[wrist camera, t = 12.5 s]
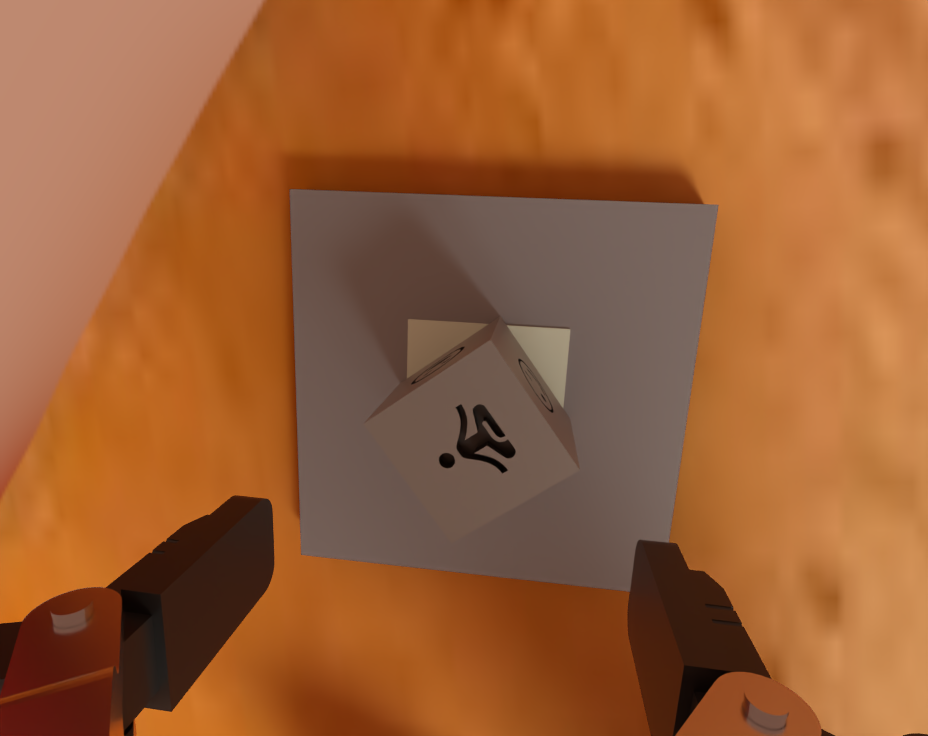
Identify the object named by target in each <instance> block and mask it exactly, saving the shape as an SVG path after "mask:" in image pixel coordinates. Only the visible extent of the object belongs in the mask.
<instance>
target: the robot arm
mask: <svg viewBox="0 0 928 736" xmlns="http://www.w3.org/2000/svg"><path fill="white" fill-rule="evenodd" d="M273 570H274V538H273V512H272V505H271V502H270V501H269V500H268V499H264V498H255V497H246V496H232V497H231V498H230V499H228V500H227V501H226V502H225V503H224V504H222V505H221V506H220V507H219V508H218V509H216V510H215V511H214V512H213V513H212V514H210V515H205V516H203V517H201V518H199V519H197V520H194V521H192V522H190V523H188V524H186V525H184V526H182V527H181V528H180V529H179V530H177V531H176V532H175V533H174V534H172V535H171V536H170V537H169V538H167V541H166V542H162V543H161V544H160V545H159V546H157V547H156V548H155V549H154V550H153V552H152V553H149V554H147V555H146V556H145V557H144V558H142V559H141V560H140V561H139V562H137V563H136V564H135V565H133V566H132V567H131V568H130V569H128V570H127V571H126V572H125V573H123V574H122V575H121V576H120V577H118V578H117V579H116V580H115V581H113V582H112V583H111V584H110V585H108V586H107V587H106V588H102V587H91V588H83V589H78V590H74V591H70V592H67V593H64V594H61V595H58V596H56V597H54V598H51V599H50V600H48V601H46V602H44V603H42V604H41V605H39V606H37V607H36V608H35V609H33V610H32V611H31V612H30V613H29V614H28V615H27V616H26V617H25V618H24V620H23V621H22V622H14V623H3V624H0V736H136V724H135V718H136V717H137V716H138V714H139V713H140V712H141V711H142V710H143V709H144V708H151V709H157V710H163V711H170V712H172V710H173V709H174V708H175V707H176V705H177V704H178V703H179V701H180V700H181V699H182V698H183V696H184V695H185V694H186V692H187V691H188V690H189V689H190V687H191V686H192V685H193V683H194V682H195V681H196V680H197V678H198V677H199V676H200V675H201V673H202V672H203V671H204V669H205V668H206V667H207V666H208V664H209V663H210V662H211V660H212V659H213V658H214V657H215V655H216V654H217V653H218V651H219V650H220V649H221V648H222V646H223V645H224V644H225V643H226V641H227V640H228V639H229V637H230V636H231V635H232V634H233V632H234V631H235V630H236V628H237V627H238V626H239V625H240V623H241V622H242V621H243V620H244V618H245V617H246V616H247V614H248V613H249V612H250V611H251V609H252V608H253V607H254V605H255V604H256V603H257V602H258V600H259V599H260V598H261V596H262V595H263V594H264V593H265V591H266V590H267V588H268V586H269V584H270V581H271V578H272V575H273ZM628 635H629V640H630V645H631V649H632V654H633V658H634V663H635V667H636V671H637V676H638V680H639V685H640V689H641V693H642V698H643V702H644V707H645V711H646V715H647V720H648V724H649V729H650V733H651V736H835V735H832V734H830V733H828V732H826V731H824V730H822V729H821V726H820V723H819V720H818V718H817V716H816V715H815V713H814V712H813V710H812V709H811V708H810V706H809V705H808V704H807V703H806V702H805V701H804V700H803V699H802V698H800V697H799V696H798V695H797V694H796V693H794V692H793V691H792V690H790V689H789V688H787V687H785V686H784V685H782V684H780V683H778V682H776V681H774V680H772V679H771V677H770V675H769V673H768V672H767V670H766V668H765V666H764V664H763V662H762V660H761V658H760V656H759V655H758V653H757V651H756V649H755V647H754V645H753V643H752V641H751V640H750V638H749V636H748V634H747V632H746V630H745V628H744V627H742V623H741V621H740V619H739V617H738V615H737V613H736V611H733V606H732V604H731V602H730V600H729V598H728V596H727V594H726V592H725V591H724V589H723V588H722V587H721V586H720V585H719V584H718V583H717V582H715V581H714V580H713V579H712V578H711V577H710V576H709V575H708V574H706V573H705V572H704V571H695V570H689V569H688V567H687V564H686V562H685V560H684V558H683V556H682V553H681V551H680V549H679V547H678V545H677V544H676V543H668V542H658V541H649V540H638V542H637V545H636V549H635V556H634V564H633V572H632V580H631V587H630V595H629V603H628ZM903 736H928V735H927V734H919V733H918V734H907V735H903Z"/></svg>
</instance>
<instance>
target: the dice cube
mask: <svg viewBox="0 0 928 736" xmlns="http://www.w3.org/2000/svg"><path fill="white" fill-rule="evenodd" d="M363 424H364V426H365V427H366V428H367V430H368V431H369V432H370V434H371V435H372V436H373V438H374V439H375V441H376V442H377V443H378V445H379V446H380V447H381V449H382V450H383V451H384V453H385V454H386V455H387V457H388V458H389V460H390V461H391V462H392V464H393V465H394V466H395V468H396V469H397V470H398V472H399V473H400V474H401V476H402V477H403V479H404V480H405V481H406V483H407V484H408V485H409V487H410V488H411V489H412V491H413V492H414V493H415V495H416V496H417V497H418V499H419V500H420V502H421V503H422V504H423V506H424V507H425V508H426V510H427V511H428V512H429V514H430V515H431V516H432V518H433V519H434V521H435V522H436V523H437V525H438V526H439V527H440V529H441V530H442V531H443V533H444V534H445V535H446V537H447V538H448V540H449V541H450V542H451V543H453V542H455V541H456V540H458V539H460V538H462V537H463V536H465V535H467V534H469V533H471V532H472V531H474V530H476V529H478V528H479V527H481V526H483V525H485V524H486V523H488V522H490V521H492V520H493V519H495V518H497V517H499V516H500V515H502V514H504V513H506V512H508V511H509V510H511V509H513V508H515V507H516V506H518V505H520V504H522V503H523V502H525V501H527V500H529V499H530V498H532V497H534V496H536V495H537V494H539V493H541V492H543V491H545V490H546V489H548V488H550V487H552V486H553V485H555V484H557V483H559V482H560V481H562V480H564V479H566V478H567V477H569V476H571V475H573V474H575V473H576V472H578V471H580V467H579V462H578V457H577V452H576V446H575V441H574V436H573V431H572V426H571V420H570V418H569V416H568V415H567V413H566V412H565V411H564V409H563V408H562V406H561V405H560V403H559V402H558V400H557V399H556V397H555V396H554V394H553V393H552V391H551V390H550V388H549V387H548V385H547V384H546V383H545V381H544V380H543V378H542V377H541V375H540V374H539V372H538V371H537V369H536V368H535V366H534V365H533V363H532V362H531V360H530V359H529V357H528V356H527V355H526V353H525V352H524V350H523V349H522V347H521V346H520V344H519V343H518V341H517V340H516V338H515V337H514V335H513V334H512V332H511V331H510V329H509V328H508V327H507V325H506V324H505V322H504V321H503V319H502V318H501V316H500V317H498V318H497V319H495V320H494V321H492V322H491V323H489V324H488V325H486V326H485V327H483V328H482V329H480V330H479V331H477V332H476V333H475V334H473V335H472V336H470V337H469V338H467V339H466V340H464V341H463V342H461V343H460V344H458V345H457V346H455V347H454V348H452V349H451V350H449V351H448V352H446V353H445V354H443V355H442V356H440V357H439V358H437V359H436V360H434V361H433V362H431V363H430V364H428V365H427V366H425V367H424V368H422V369H421V370H419V371H418V372H416V373H415V374H413V375H412V376H410V377H409V378H407V379H406V380H404V381H403V382H401V383H400V384H399V385H398V386H397V387H396V388H395V389H394V390H393V391H392V393H391V394H390V395H389V396H388V397H387V398H386V399H385V400H384V401H383V402H382V404H381V405H380V406H379V407H378V408H377V409H376V410H375V411H374V412H373V414H372V415H371V416H370V417H369V418H368V419H367V420H366V421H365V422H364V423H363Z"/></svg>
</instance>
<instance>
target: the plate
mask: <svg viewBox="0 0 928 736" xmlns="http://www.w3.org/2000/svg"><path fill="white" fill-rule="evenodd" d="M717 212H718V205H709V204H682V203H655V202H627V201H600V200H573V199H546V198H519V197H492V196H465V195H437V194H410V193H383V192H356V191H329V190H302V189H290V218H291V250H292V281H293V313H294V344H295V375H296V407H297V438H298V470H299V501H300V533H301V555H307V556H316V557H325V558H334V559H343V560H352V561H361V562H370V563H379V564H388V565H397V566H405V567H414V568H423V569H432V570H441V571H450V572H459V573H468V574H477V575H486V576H495V577H503V578H512V579H521V580H530V581H539V582H548V583H557V584H566V585H575V586H584V587H592V588H601V589H610V590H619V591H628V592H630V587H631V580H632V572H633V564H634V556H635V549H636V545H637V542H638V540H649V541H658V542H668V543H669V537H670V531H671V524H672V517H673V510H674V503H675V497H676V490H677V483H678V476H679V470H680V463H681V456H682V449H683V442H684V436H685V429H686V422H687V415H688V408H689V402H690V395H691V388H692V381H693V375H694V368H695V361H696V354H697V347H698V341H699V334H700V327H701V320H702V313H703V307H704V300H705V293H706V286H707V280H708V273H709V266H710V259H711V252H712V246H713V239H714V232H715V225H716V218H717ZM500 316H501V318H502V319H503V321H504V322H505V324H506V325H507V327H508V328H509V329H510V331H511V332H512V334H513V335H514V337H515V338H516V340H517V341H518V343H519V344H520V346H521V347H522V349H523V350H524V352H525V353H526V355H527V356H528V357H529V359H530V360H531V362H532V363H533V365H534V366H535V368H536V369H537V371H538V372H539V374H540V375H541V377H542V378H543V380H544V381H545V383H546V384H547V385H548V387H549V388H550V390H551V391H552V393H553V394H554V396H555V397H556V399H557V400H558V402H559V403H560V405H561V406H562V408H563V409H564V411H565V412H566V413H567V415H568V416H569V418H570V420H571V426H572V431H573V436H574V441H575V446H576V452H577V457H578V462H579V467H580V471H578V472H576V473H575V474H573V475H571V476H569V477H567V478H566V479H564V480H562V481H560V482H559V483H557V484H555V485H553V486H552V487H550V488H548V489H546V490H545V491H543V492H541V493H539V494H537V495H536V496H534V497H532V498H530V499H529V500H527V501H525V502H523V503H522V504H520V505H518V506H516V507H515V508H513V509H511V510H509V511H508V512H506V513H504V514H502V515H500V516H499V517H497V518H495V519H493V520H492V521H490V522H488V523H486V524H485V525H483V526H481V527H479V528H478V529H476V530H474V531H472V532H471V533H469V534H467V535H465V536H463V537H462V538H460V539H458V540H456V541H455V542H453V543H451V542H450V541H449V540H448V538H447V537H446V535H445V534H444V533H443V531H442V530H441V529H440V527H439V526H438V525H437V523H436V522H435V521H434V519H433V518H432V516H431V515H430V514H429V512H428V511H427V510H426V508H425V507H424V506H423V504H422V503H421V502H420V500H419V499H418V497H417V496H416V495H415V493H414V492H413V491H412V489H411V488H410V487H409V485H408V484H407V483H406V481H405V480H404V479H403V477H402V476H401V474H400V473H399V472H398V470H397V469H396V468H395V466H394V465H393V464H392V462H391V461H390V460H389V458H388V457H387V455H386V454H385V453H384V451H383V450H382V449H381V447H380V446H379V445H378V443H377V442H376V441H375V439H374V438H373V436H372V435H371V434H370V432H369V431H368V430H367V428H366V427H365V426H364V424H363V423H364V422H365V421H366V420H367V419H368V418H369V417H370V416H371V415H372V414H373V412H374V411H375V410H376V409H377V408H378V407H379V406H380V405H381V404H382V402H383V401H384V400H385V399H386V398H387V397H388V396H389V395H390V394H391V393H392V391H393V390H394V389H395V388H396V387H397V386H398V385H399V384H400V383H401V382H403V381H404V380H406V379H407V378H409V377H410V376H412V375H413V374H415V373H416V372H418V371H419V370H421V369H422V368H424V367H425V366H427V365H428V364H430V363H431V362H433V361H434V360H436V359H437V358H439V357H440V356H442V355H443V354H445V353H446V352H448V351H449V350H451V349H452V348H454V347H455V346H457V345H458V344H460V343H461V342H463V341H464V340H466V339H467V338H469V337H470V336H472V335H473V334H475V333H476V332H477V331H479V330H480V329H482V328H483V327H485V326H486V325H488V324H489V323H491V322H492V321H494V320H495V319H497V318H498V317H500Z"/></svg>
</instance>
